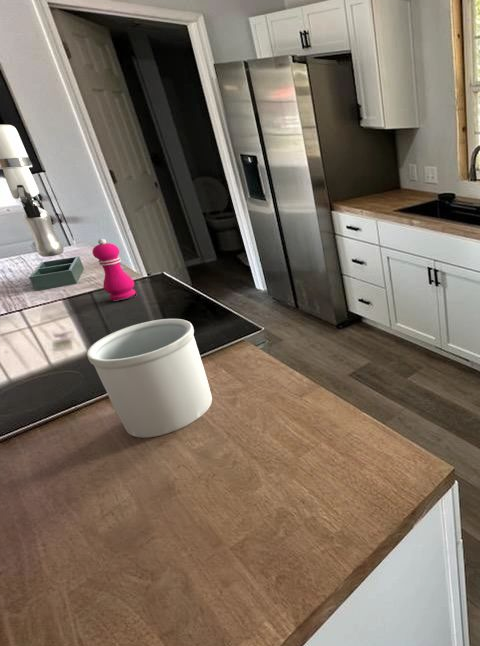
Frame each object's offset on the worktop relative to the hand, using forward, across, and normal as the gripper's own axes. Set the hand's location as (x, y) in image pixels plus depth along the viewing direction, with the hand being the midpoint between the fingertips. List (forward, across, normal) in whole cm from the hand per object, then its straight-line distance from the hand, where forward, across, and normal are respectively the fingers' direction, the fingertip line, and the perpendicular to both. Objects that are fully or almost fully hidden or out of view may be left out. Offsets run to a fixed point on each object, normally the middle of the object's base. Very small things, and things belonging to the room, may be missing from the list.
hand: (37, 215), depth 145 cm
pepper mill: (+23, +42, +19) cm, 51 cm away
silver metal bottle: (+15, 0, 0) cm, 15 cm away
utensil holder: (+23, +122, +30) cm, 127 cm away
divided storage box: (+23, +5, 0) cm, 23 cm away
